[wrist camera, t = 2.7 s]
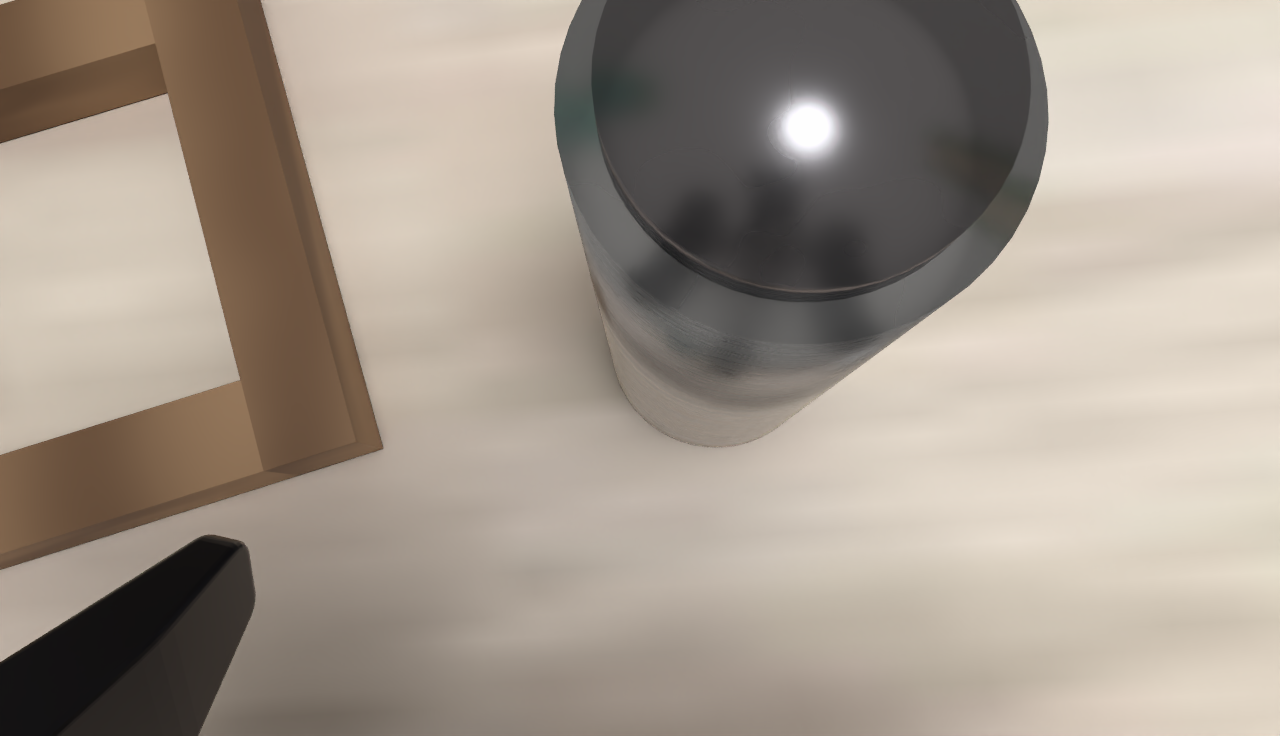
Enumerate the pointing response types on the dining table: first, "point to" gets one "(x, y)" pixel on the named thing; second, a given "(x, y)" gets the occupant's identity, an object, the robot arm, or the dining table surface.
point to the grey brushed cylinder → (787, 186)
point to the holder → (240, 258)
